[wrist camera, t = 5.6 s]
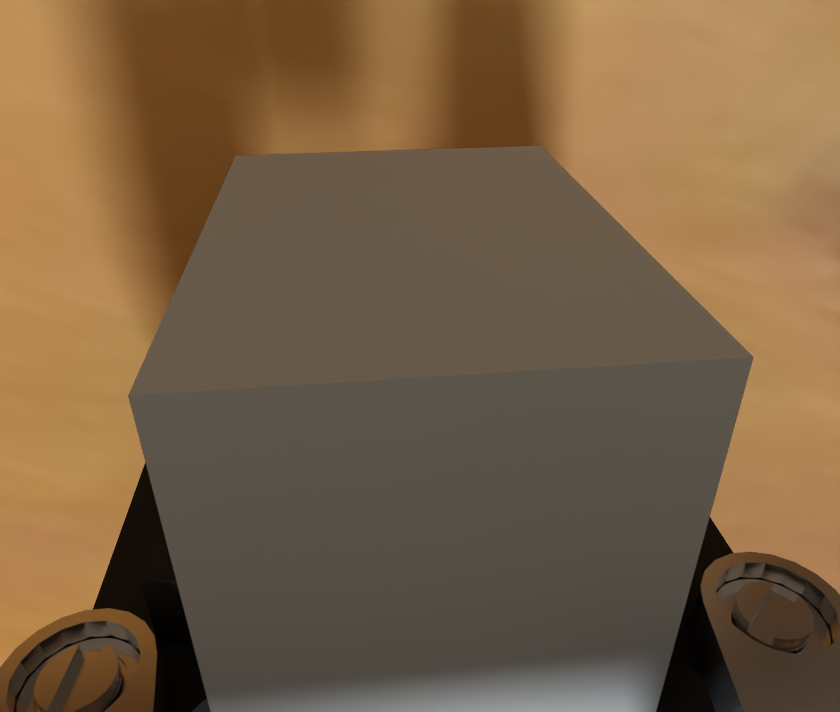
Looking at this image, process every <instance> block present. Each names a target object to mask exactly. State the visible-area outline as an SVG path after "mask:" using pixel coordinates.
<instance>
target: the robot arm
mask: <svg viewBox="0 0 840 712" xmlns="http://www.w3.org/2000/svg"><path fill="white" fill-rule="evenodd" d="M0 712H210V708H209V704H208V700H207V696H206V692H205V689H204V685H203V681H202V677H201V673H200V669H199V666H198V662H197V658H196V654H195V650H194V646H193V642H192V639H191V635H190V631H189V627H188V623H187V619H186V616H185V612H184V608H183V604H182V600H181V596H180V593H179V589H178V585H177V581H176V577H175V573H174V569H173V566H172V562H171V558H170V554H169V550H168V546H167V543H166V539H165V535H164V531H163V527H162V523H161V520H160V516H159V512H158V508H157V504H156V500H155V497H154V493H153V489H152V485H151V481H150V477H149V473H148V470H147V466H146V463H145V465H144V468H143V471H142V473H141V476H140V479H139V482H138V485H137V487H136V490H135V493H134V496H133V499H132V501H131V504H130V507H129V510H128V513H127V515H126V518H125V521H124V524H123V527H122V529H121V532H120V535H119V538H118V541H117V543H116V546H115V549H114V552H113V555H112V557H111V560H110V563H109V566H108V569H107V571H106V574H105V577H104V580H103V583H102V585H101V588H100V591H99V594H98V597H97V599H96V602H95V605H94V608H93V610H85V611H81V612H78V613H75V614H72V615H69V616H65V617H62V618H60V619H58V620H56V621H54V622H53V623H51V624H49V625H47V626H45V627H43V628H41V629H39V630H38V631H36V632H35V633H34V634H33V635H31V636H30V637H29V638H28V639H26V640H25V641H24V642H23V643H22V644H20V645H19V646H18V647H17V648H16V649H15V650H14V651H13V652H12V654H11V655H10V656H9V657H8V658H7V660H6V661H5V662H4V663H3V665H2V666H1V667H0ZM656 712H840V595H839V593H838V592H837V591H836V590H835V589H834V588H833V587H832V586H830V585H829V584H828V583H827V582H826V581H824V580H823V579H822V578H821V577H819V576H818V575H817V574H815V573H813V572H812V571H810V570H808V569H806V568H804V567H803V566H801V565H799V564H797V563H795V562H792V561H790V560H787V559H784V558H781V557H778V556H775V555H771V554H764V553H756V552H742V553H733V552H732V550H731V549H730V547H729V546H728V544H727V543H726V541H725V539H724V538H723V536H722V535H721V533H720V532H719V530H718V529H717V527H716V526H715V524H714V523H713V521H712V520H711V518H710V517H709V521H708V524H707V528H706V532H705V535H704V539H703V543H702V546H701V550H700V554H699V557H698V561H697V564H696V568H695V572H694V575H693V579H692V583H691V586H690V590H689V594H688V597H687V601H686V605H685V608H684V612H683V615H682V619H681V623H680V626H679V630H678V634H677V637H676V641H675V645H674V648H673V652H672V656H671V659H670V663H669V666H668V670H667V674H666V677H665V681H664V685H663V688H662V692H661V696H660V699H659V703H658V707H657V710H656Z"/></svg>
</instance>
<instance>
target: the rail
mask: <svg viewBox="0 0 840 712" xmlns="http://www.w3.org/2000/svg"><path fill="white" fill-rule="evenodd" d="M752 360H753V356H752V355H751V354H750V353H749V352H748V351H747V350H746V349H745V348H744V347H743V346H742V345H741V344H740V343H739V342H738V341H737V340H736V339H735V338H734V337H733V336H732V335H731V334H730V333H729V332H728V331H727V330H726V329H725V328H724V327H723V326H722V325H721V324H720V323H719V322H718V321H717V320H716V319H715V318H714V317H713V316H712V315H711V314H710V313H709V312H708V311H707V310H706V309H705V308H704V307H703V306H702V305H701V304H700V303H699V302H698V301H697V300H696V299H694V298H693V297H692V296H691V295H690V294H689V293H688V292H687V291H686V290H685V289H684V288H683V287H682V286H681V285H680V284H679V283H678V282H677V281H676V280H675V279H674V278H673V277H672V276H671V275H670V274H669V273H668V272H667V271H666V270H665V269H664V268H663V267H662V266H661V265H660V264H659V263H658V262H657V261H656V260H655V259H654V258H653V257H652V256H651V255H650V254H649V253H648V252H647V251H646V250H645V249H644V248H643V247H642V246H641V245H640V244H639V243H638V242H637V241H636V240H635V239H634V238H633V237H632V236H631V235H630V234H629V233H628V232H627V231H626V230H625V229H624V228H623V227H622V226H621V225H620V224H619V223H618V222H617V221H616V220H615V219H614V218H613V217H612V216H611V215H610V214H609V213H608V212H607V211H606V210H605V209H604V208H603V207H602V206H601V205H600V204H599V203H598V202H597V201H596V200H595V199H594V198H593V197H592V196H591V195H590V194H589V193H588V192H587V191H586V190H585V189H584V188H583V187H582V186H581V185H580V184H579V183H578V182H577V181H576V180H575V179H574V178H573V177H572V176H571V175H570V174H569V173H568V172H567V171H566V170H565V169H564V168H563V167H562V166H561V165H560V164H559V163H558V162H557V161H556V160H555V159H554V158H553V157H552V156H551V155H550V154H549V153H548V152H547V151H546V150H545V149H544V148H543V147H542V146H512V147H482V148H451V149H421V150H391V151H361V152H330V153H300V154H270V155H239V156H235V158H234V160H233V162H232V165H231V167H230V169H229V171H228V174H227V176H226V178H225V180H224V183H223V185H222V187H221V189H220V191H219V194H218V196H217V198H216V200H215V203H214V205H213V207H212V209H211V212H210V214H209V216H208V218H207V221H206V223H205V225H204V227H203V230H202V232H201V234H200V236H199V239H198V241H197V243H196V245H195V247H194V250H193V252H192V254H191V256H190V259H189V261H188V263H187V265H186V268H185V270H184V272H183V274H182V277H181V279H180V281H179V283H178V286H177V288H176V290H175V292H174V294H173V297H172V299H171V301H170V303H169V306H168V308H167V310H166V312H165V315H164V317H163V319H162V321H161V324H160V326H159V328H158V330H157V333H156V335H155V337H154V339H153V342H152V344H151V346H150V348H149V350H148V353H147V355H146V357H145V359H144V362H143V364H142V366H141V368H140V371H139V373H138V375H137V377H136V380H135V382H134V384H133V386H132V389H131V391H130V393H129V395H128V397H129V400H130V404H131V408H132V412H133V416H134V420H135V424H136V427H137V431H138V435H139V439H140V443H141V447H142V450H143V454H144V458H145V462H146V466H147V470H148V473H149V477H150V481H151V485H152V489H153V493H154V497H155V500H156V504H157V508H158V512H159V516H160V520H161V523H162V527H163V531H164V535H165V539H166V543H167V546H168V550H169V554H170V558H171V562H172V566H173V569H174V573H175V577H176V581H177V585H178V589H179V593H180V596H181V600H182V604H183V608H184V612H185V616H186V619H187V623H188V627H189V631H190V635H191V639H192V642H193V646H194V650H195V654H196V658H197V662H198V666H199V669H200V673H201V677H202V681H203V685H204V689H205V692H206V696H207V700H208V704H209V708H210V712H656V710H657V707H658V703H659V699H660V696H661V692H662V688H663V685H664V681H665V677H666V674H667V670H668V666H669V663H670V659H671V656H672V652H673V648H674V645H675V641H676V637H677V634H678V630H679V626H680V623H681V619H682V615H683V612H684V608H685V605H686V601H687V597H688V594H689V590H690V586H691V583H692V579H693V575H694V572H695V568H696V564H697V561H698V557H699V554H700V550H701V546H702V543H703V539H704V535H705V532H706V528H707V524H708V521H709V517H710V513H711V510H712V506H713V503H714V499H715V495H716V492H717V488H718V484H719V481H720V477H721V473H722V470H723V466H724V462H725V459H726V455H727V452H728V448H729V444H730V441H731V437H732V433H733V430H734V426H735V422H736V419H737V415H738V411H739V408H740V404H741V401H742V397H743V393H744V390H745V386H746V382H747V379H748V375H749V371H750V368H751V364H752Z"/></svg>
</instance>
